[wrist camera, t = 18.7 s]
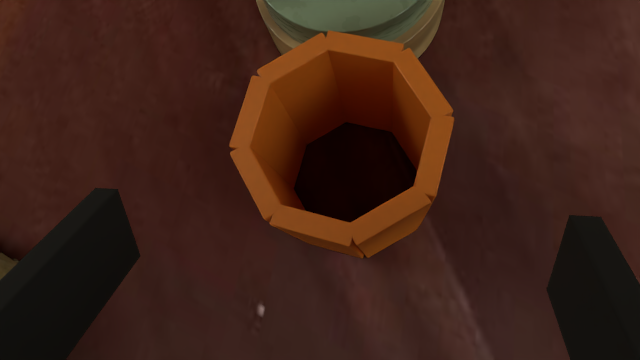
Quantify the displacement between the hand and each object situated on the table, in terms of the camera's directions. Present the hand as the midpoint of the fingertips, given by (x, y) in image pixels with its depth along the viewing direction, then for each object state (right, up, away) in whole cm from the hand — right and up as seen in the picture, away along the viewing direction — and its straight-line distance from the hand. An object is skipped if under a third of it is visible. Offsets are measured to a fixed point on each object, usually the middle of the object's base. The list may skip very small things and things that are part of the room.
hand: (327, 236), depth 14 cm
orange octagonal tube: (+2, +2, +10) cm, 10 cm away
